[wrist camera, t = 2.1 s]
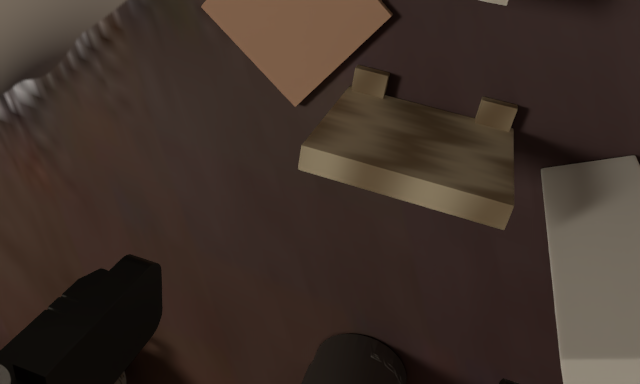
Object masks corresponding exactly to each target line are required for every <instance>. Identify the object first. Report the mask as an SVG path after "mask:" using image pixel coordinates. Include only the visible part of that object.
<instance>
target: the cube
mask: <svg viewBox="0 0 640 384" xmlns="http://www.w3.org/2000/svg"><path fill="white" fill-rule="evenodd" d="M480 1H485V2H490V3H495V4H500V5H504V6H507V3H508V0H480Z"/></svg>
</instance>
